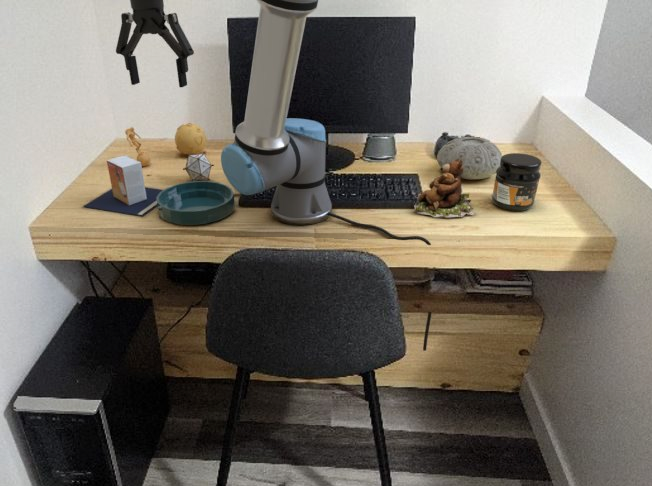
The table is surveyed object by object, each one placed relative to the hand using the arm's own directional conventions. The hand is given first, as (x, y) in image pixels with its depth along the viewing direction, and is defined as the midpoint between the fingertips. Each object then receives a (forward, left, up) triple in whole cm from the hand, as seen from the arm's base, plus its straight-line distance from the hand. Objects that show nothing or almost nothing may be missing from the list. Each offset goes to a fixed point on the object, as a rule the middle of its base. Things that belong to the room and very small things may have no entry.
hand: (159, 85), depth 138 cm
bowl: (-13, +10, -28) cm, 32 cm away
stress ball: (+9, -27, -28) cm, 40 cm away
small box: (+7, +10, -28) cm, 31 cm away
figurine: (+19, -13, -28) cm, 37 cm away
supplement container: (-89, -19, -28) cm, 95 cm away
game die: (-4, -8, -28) cm, 30 cm away
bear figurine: (-72, -11, -28) cm, 78 cm away
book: (+7, +10, -28) cm, 31 cm away
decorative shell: (-76, -37, -28) cm, 89 cm away
